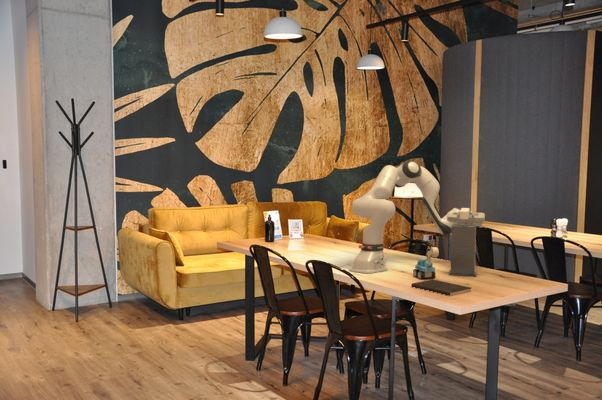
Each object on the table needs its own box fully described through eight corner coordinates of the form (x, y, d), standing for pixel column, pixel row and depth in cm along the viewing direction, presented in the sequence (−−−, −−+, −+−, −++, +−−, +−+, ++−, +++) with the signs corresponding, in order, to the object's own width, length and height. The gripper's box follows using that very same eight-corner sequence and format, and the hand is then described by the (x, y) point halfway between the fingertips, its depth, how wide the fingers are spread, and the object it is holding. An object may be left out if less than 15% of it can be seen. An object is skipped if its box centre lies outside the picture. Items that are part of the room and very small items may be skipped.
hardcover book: (433, 283, 301) (433, 279, 300) (471, 292, 282) (471, 287, 282) (411, 288, 291) (411, 283, 291) (449, 297, 273) (449, 292, 273)
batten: (467, 219, 314) (467, 211, 314) (459, 218, 315) (459, 211, 315) (469, 215, 333) (469, 208, 333) (461, 215, 334) (462, 207, 334)
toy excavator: (427, 282, 301) (427, 248, 300) (411, 276, 317) (412, 243, 316) (442, 281, 304) (443, 247, 302) (426, 275, 320) (427, 242, 318)
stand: (476, 277, 315) (477, 227, 313) (448, 275, 319) (449, 226, 317) (476, 273, 324) (478, 225, 322) (449, 271, 329) (450, 224, 327)
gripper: (447, 215, 346) (446, 205, 334) (485, 217, 340) (484, 206, 328) (447, 226, 344) (445, 216, 332) (484, 227, 337) (484, 217, 325)
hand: (465, 211), depth 330 cm, fingers closed on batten, 4 cm apart
